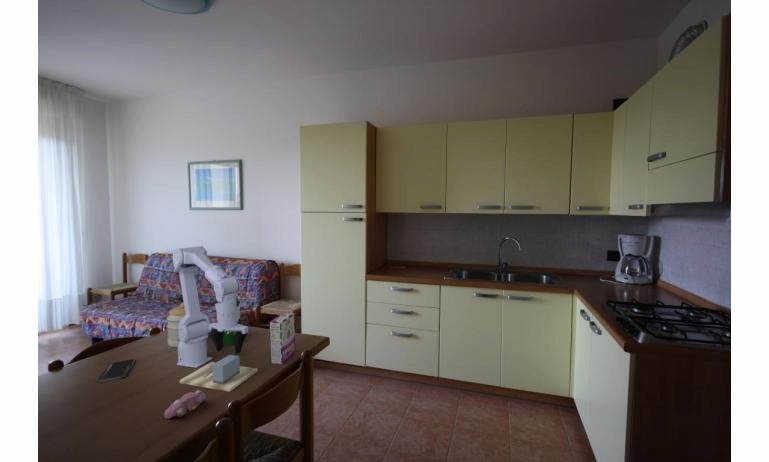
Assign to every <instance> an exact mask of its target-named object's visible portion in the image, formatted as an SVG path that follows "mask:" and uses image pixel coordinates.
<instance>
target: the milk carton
mask: <svg viewBox="0 0 769 462" xmlns="http://www.w3.org/2000/svg"><path fill="white" fill-rule="evenodd" d="M236 301H237V323H238V324H240V325H241V305H242V299H238V296H237V295H236ZM214 306H215V307H214V308H215V311H216V323H219V317H218V302H217V303H214ZM235 333H236V332H230V331H224V336H223V346H234V341H233V338H232V335H233V334H235Z"/></svg>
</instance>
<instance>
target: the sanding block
mask: <svg viewBox="0 0 769 462" xmlns="http://www.w3.org/2000/svg"><path fill="white" fill-rule="evenodd" d="M240 362H241V361H240V355H236V354H235V355H233V354H228V355H227V356H226V357H224V358H222V359H220V360H218V361H217V362H215V364H213V365H212V366H213V383H219V384H224V383H226V382H227V381H229V380H230V379H231V378H233V377H234V376H236V375H237V374H239V373H240V366H241V365H240Z"/></svg>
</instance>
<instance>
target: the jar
mask: <svg viewBox="0 0 769 462" xmlns="http://www.w3.org/2000/svg"><path fill="white" fill-rule="evenodd" d="M168 314H169V315H167V316H166V320H167V325H166V327H167V329H166V330H167V340H166V341H167V344H168V346H169V347H171V348H178V345H179V343H180V341H181V340H180V338H179V334H178V330H179V322H180V321H181V320H182V319H183V318H184V317H185V315H186V313H185V307H184V301H183V302H181V303H180V305H178V306H176V307H175V306H174V307H173V308H172V309H171V310H169V311H168ZM197 321H200V320H197ZM197 321H193V322H190V323H194V322H197ZM190 323H188V324H190Z"/></svg>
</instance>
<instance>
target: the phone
mask: <svg viewBox="0 0 769 462" xmlns="http://www.w3.org/2000/svg"><path fill="white" fill-rule="evenodd" d="M135 363H136V359H135V358H133V359H132V358H131V359H126V360H125V359H124V360H118V361H112V362H111V363H109V364H108V366H107V367H106V368H105V370H104V371H103V372H102V374H100V375H99V378H98V379H97V383H106V382H110V381H116V380H123V379H125V378H127V376H128V374H129V373H130V371H131V369H132V368H133V366H134V365H135Z"/></svg>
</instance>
